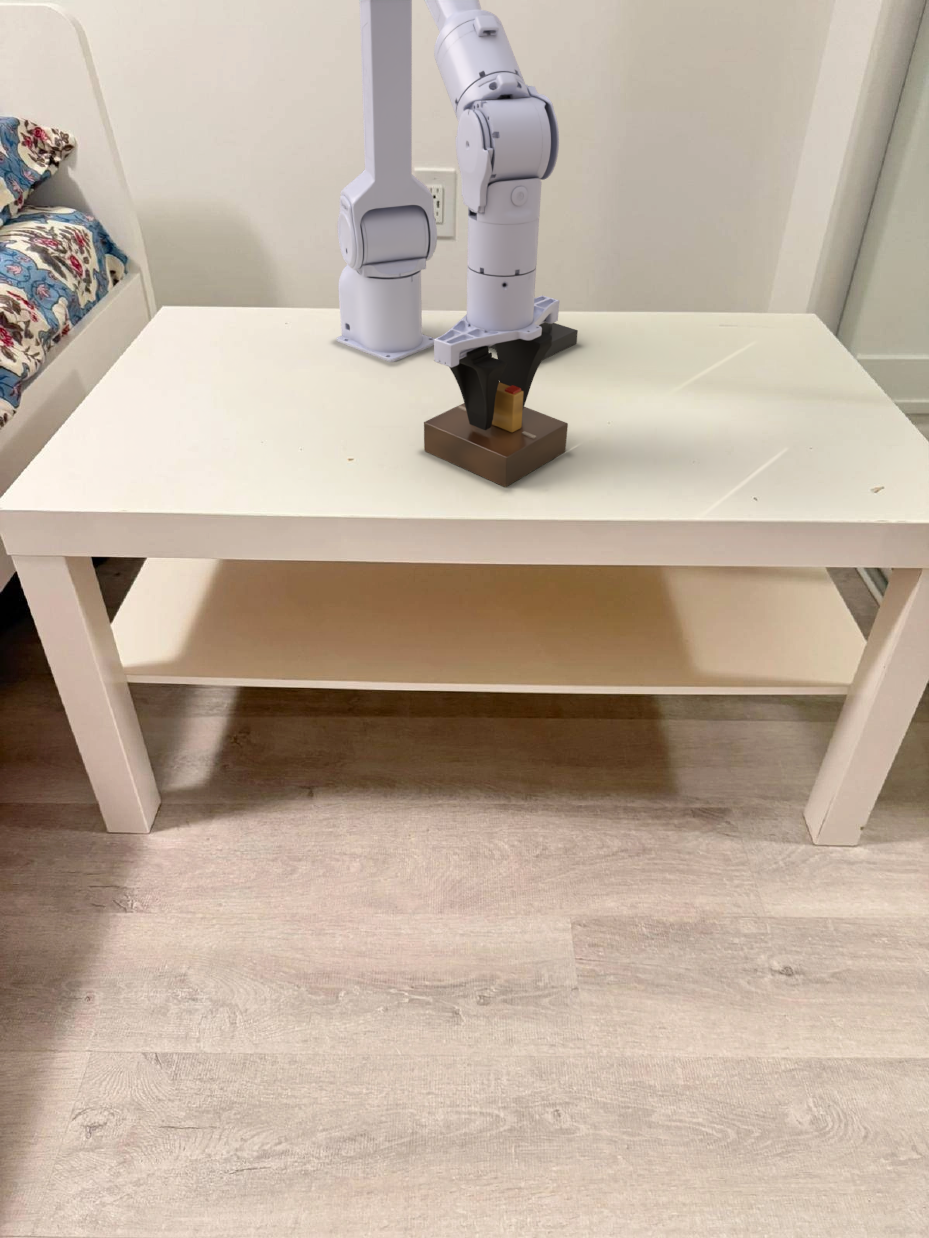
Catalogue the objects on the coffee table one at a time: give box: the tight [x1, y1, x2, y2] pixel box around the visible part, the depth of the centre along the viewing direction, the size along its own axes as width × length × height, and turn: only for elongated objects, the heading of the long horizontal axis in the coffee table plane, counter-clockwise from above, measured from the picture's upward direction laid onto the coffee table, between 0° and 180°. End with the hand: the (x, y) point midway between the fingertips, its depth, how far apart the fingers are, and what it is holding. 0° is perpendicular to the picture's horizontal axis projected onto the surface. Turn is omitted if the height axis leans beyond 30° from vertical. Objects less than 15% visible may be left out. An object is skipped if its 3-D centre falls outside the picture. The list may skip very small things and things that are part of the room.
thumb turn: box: [492, 381, 523, 432], centre depth 80 cm, size 5×1×4 cm, turn 48°
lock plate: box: [423, 402, 569, 488], centre depth 82 cm, size 10×9×3 cm
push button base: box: [489, 322, 579, 361], centre depth 103 cm, size 10×8×4 cm
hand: (496, 417), depth 81 cm, fingers open, 4 cm apart
